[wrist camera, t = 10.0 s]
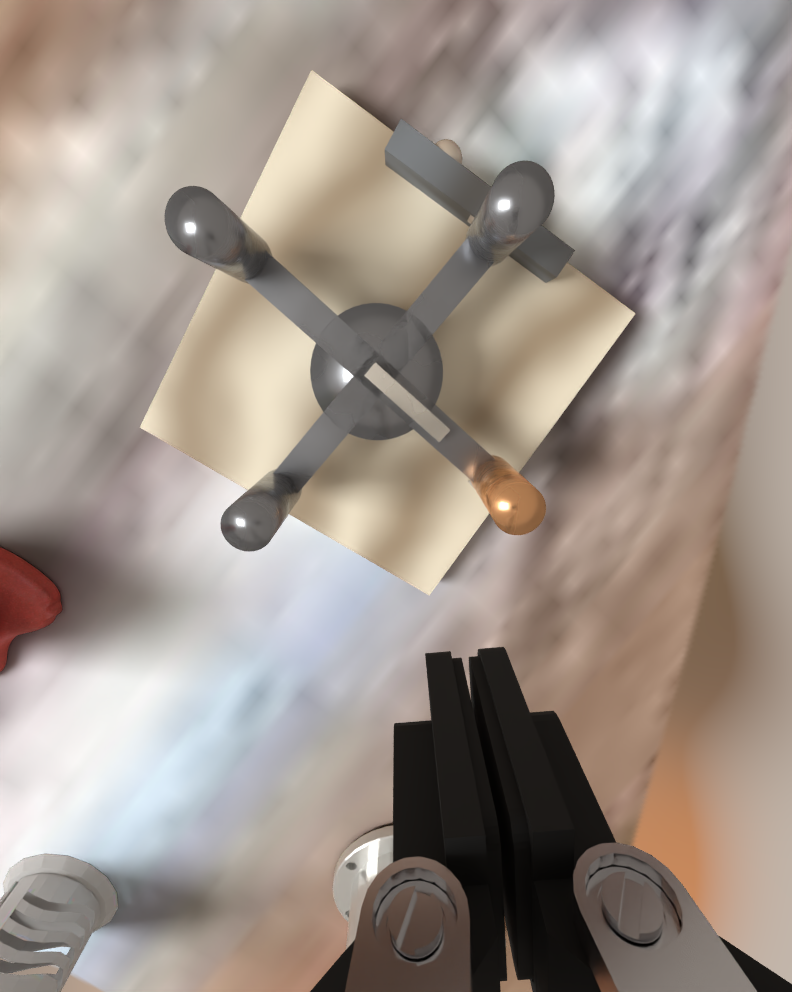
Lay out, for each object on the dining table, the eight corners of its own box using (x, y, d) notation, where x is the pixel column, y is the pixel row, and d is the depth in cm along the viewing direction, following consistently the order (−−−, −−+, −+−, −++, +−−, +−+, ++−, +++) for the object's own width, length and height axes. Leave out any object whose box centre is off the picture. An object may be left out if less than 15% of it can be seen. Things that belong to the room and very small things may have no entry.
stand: (630, 306, 27) (667, 298, 23) (430, 582, 32) (435, 611, 28) (326, 77, 24) (313, 25, 20) (157, 422, 29) (122, 432, 25)
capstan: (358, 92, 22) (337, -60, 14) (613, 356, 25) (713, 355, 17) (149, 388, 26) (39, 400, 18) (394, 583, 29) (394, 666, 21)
